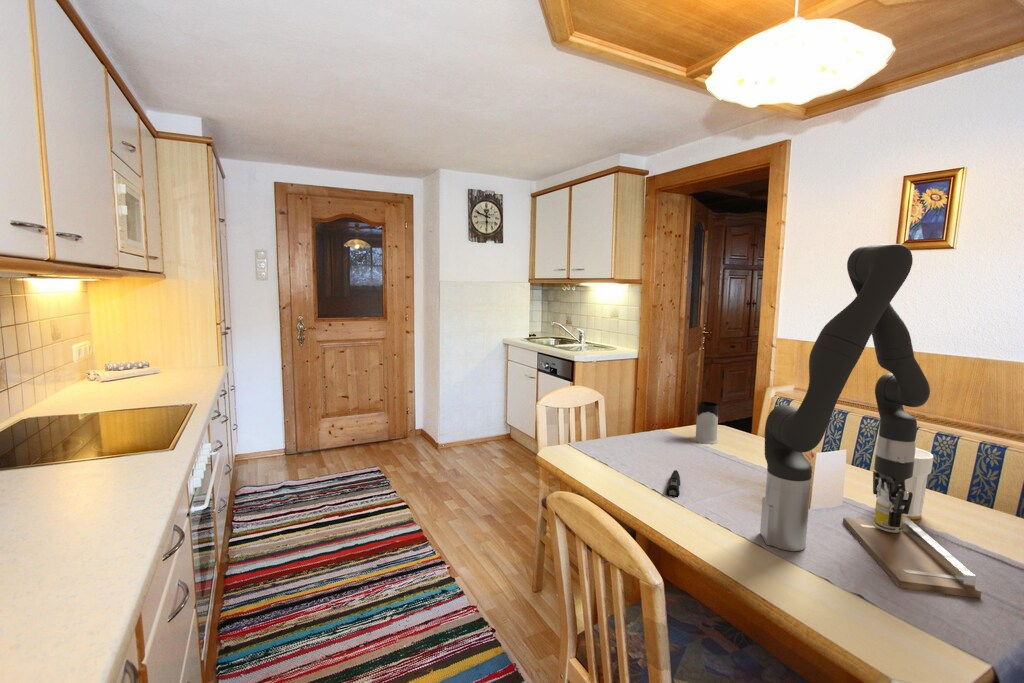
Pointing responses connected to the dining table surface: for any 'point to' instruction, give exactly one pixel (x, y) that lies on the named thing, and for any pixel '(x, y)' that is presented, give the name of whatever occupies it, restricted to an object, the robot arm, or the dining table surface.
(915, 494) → the cup
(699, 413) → the glass holder
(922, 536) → the metal straightedge
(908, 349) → the robot arm
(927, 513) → the dining table surface
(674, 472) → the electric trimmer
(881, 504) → the supplement bottle
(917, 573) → the brown flat wooden board
